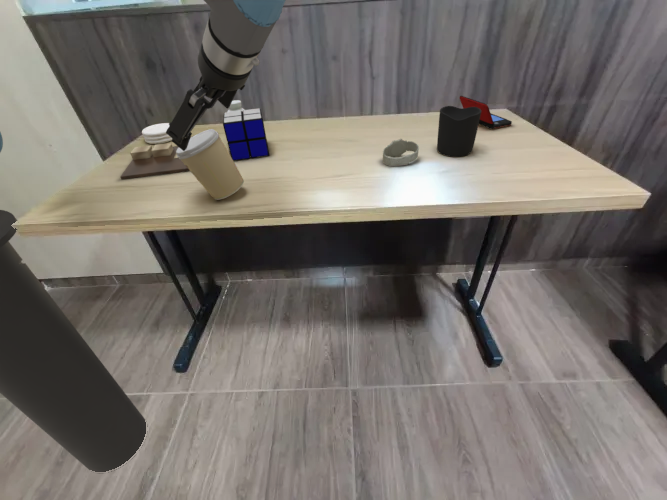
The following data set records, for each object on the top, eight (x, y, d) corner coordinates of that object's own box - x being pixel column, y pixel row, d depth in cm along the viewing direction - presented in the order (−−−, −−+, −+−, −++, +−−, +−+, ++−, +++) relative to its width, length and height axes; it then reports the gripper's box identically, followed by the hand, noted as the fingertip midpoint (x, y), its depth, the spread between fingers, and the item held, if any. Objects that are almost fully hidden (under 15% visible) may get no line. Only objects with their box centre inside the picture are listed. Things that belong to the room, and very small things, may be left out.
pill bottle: (249, 136, 108) (242, 103, 102) (231, 138, 108) (223, 105, 102) (250, 130, 112) (243, 98, 107) (233, 132, 112) (225, 100, 106)
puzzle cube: (231, 161, 93) (222, 123, 87) (231, 148, 101) (223, 112, 95) (269, 155, 94) (262, 118, 88) (266, 143, 102) (260, 107, 96)
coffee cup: (221, 181, 83) (189, 135, 75) (253, 172, 79) (223, 123, 71) (203, 205, 76) (166, 158, 69) (236, 197, 72) (201, 146, 65)
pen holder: (455, 141, 95) (461, 102, 89) (482, 152, 88) (490, 111, 82) (427, 149, 91) (431, 109, 85) (453, 161, 85) (459, 119, 79)
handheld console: (513, 125, 101) (519, 98, 97) (481, 132, 99) (486, 104, 94) (484, 114, 111) (489, 89, 106) (454, 120, 108) (458, 94, 104)
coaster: (147, 136, 114) (142, 125, 112) (179, 131, 116) (175, 120, 114) (143, 146, 107) (139, 135, 104) (178, 141, 109) (174, 129, 106)
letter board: (121, 179, 88) (116, 169, 86) (140, 153, 102) (136, 143, 101) (210, 168, 90) (207, 157, 89) (216, 143, 105) (214, 134, 103)
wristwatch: (411, 153, 90) (413, 134, 87) (423, 163, 85) (425, 142, 82) (378, 159, 88) (378, 140, 85) (388, 169, 83) (388, 149, 80)
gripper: (195, 124, 47) (176, 178, 65) (292, 32, 58) (253, 100, 76) (146, 81, 45) (140, 150, 63) (256, -6, 56) (224, 73, 74)
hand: (202, 123), depth 69 cm, fingers open, 13 cm apart
